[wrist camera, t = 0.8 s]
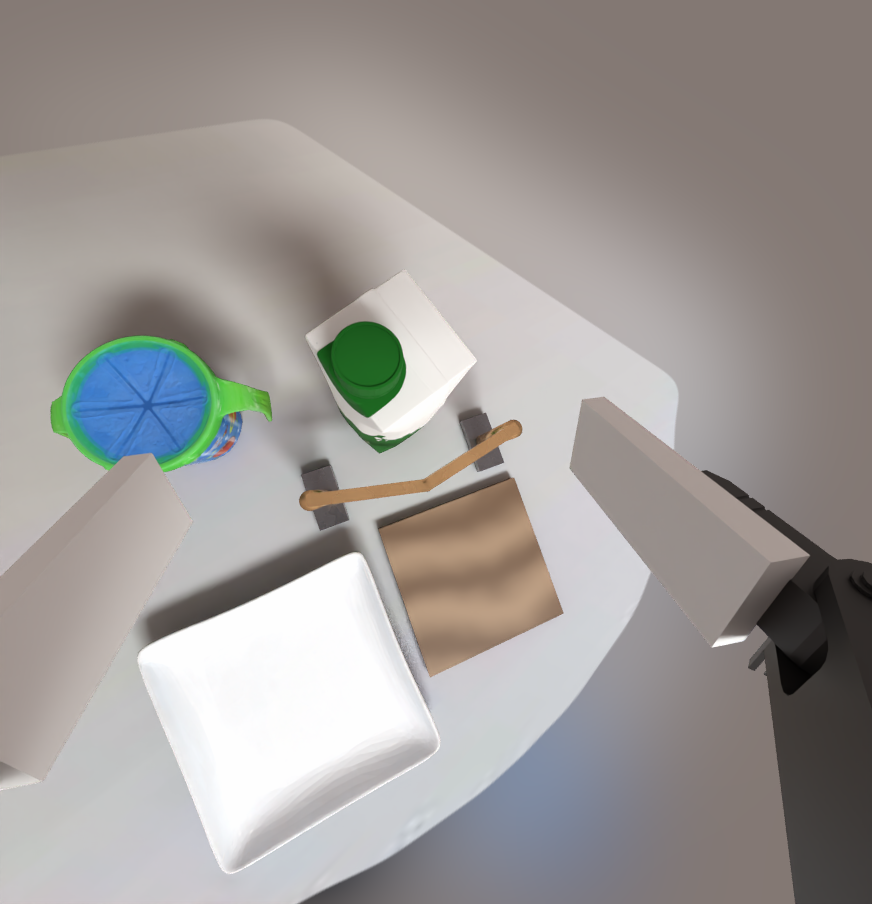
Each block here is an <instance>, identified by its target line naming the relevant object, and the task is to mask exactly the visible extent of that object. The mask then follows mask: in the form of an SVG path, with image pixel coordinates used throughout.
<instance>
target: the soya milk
mask: <svg viewBox="0 0 872 904" xmlns="http://www.w3.org/2000/svg"><path fill="white" fill-rule="evenodd" d="M305 339H306V341H307V343H308V344H309V346H310V348H311V350H312V352H313V354H314V356H315V358H316V360H317V362H318V364H319V366H320V368H321V370H322V372H323V374H324V376H325V378H326V380H327V382H328V384H329V387H330V389H331V391H332V394H333V396H334V398H335V401H336V403H337V405H338V408H339V410H340V412H341V414H342V415H343V417H344V418H345V420H346V421H347V422H348V423H349V425H350V426H351V427H352V428H353V429H354V430H355V431H356V433H357V434H358V435H359V436H360V437H361V438H362V439H363V440H364V441H365V442H366V443H368V444H369V445H370V446H371V447H372V448H374V449H375V450H376V451H377V452H378V453H382V452H384V451H386V450H388V449H391V448H393V447H395V446H397V445H398V444H400V443H401V442H403V441H404V440H406V439H407V438H409V437H410V436H411V435H413V434H414V433H416V432H417V431H418V430H419V429H421V428H422V427H423V426H424V425H425V424H426V423H427V422H428V421H429V420H430V419H431V418H432V416H433V415H434V414H435V413H436V412H437V410H438V409H439V408H440V407H441V406H442V405H443V404H444V403H445V401H446V398H447V397H448V395H449V394H450V393H451V392H452V390H453V389H454V388H455V387H456V385H457V384H458V383H459V382H460V380H461V379H462V378H463V377H464V375H465V374H466V373H467V372H468V370H469V369H470V368H471V367H472V366H473V364H474V363H475V362H476V361H477V359H476V358H475V357H474V356H473V354H472V353H471V352H470V351H469V349H468V348H467V347H466V345H465V344H464V343H463V342H462V340H461V339H460V338H459V337H458V335H457V334H456V333H455V332H454V330H453V329H452V328H451V327H450V325H449V324H448V323H447V321H446V320H445V319H444V318H443V316H442V315H441V314H440V313H439V311H438V310H437V309H436V308H435V306H434V305H433V304H432V303H431V301H430V300H429V299H428V297H427V296H426V295H425V294H424V292H423V291H422V290H421V289H420V287H419V286H418V285H417V284H416V282H415V281H414V280H413V279H412V277H411V276H410V275H409V273H408V272H407V271H406V270H405V269H404V270H402V271H401V272H399V273H398V274H396V275H395V276H393V277H392V278H390V279H389V280H387V281H386V282H384V283H383V284H381V285H380V286H379V287H377V288H376V289H373V288H372V289H370V290H368V291H367V292H365V293H364V294H362V295H361V296H360V297H359V298H358V299H356V300H355V301H354V302H352V303H351V304H349V305H348V306H346V307H345V308H343V309H342V310H340V311H339V312H337V313H336V314H335V315H333V316H332V317H330V318H329V319H327V320H326V321H324V322H323V323H321V324H320V325H319V326H317V327H316V328H314V329H313V330H311V331H310V332H309V333H307V334H306V336H305Z"/></svg>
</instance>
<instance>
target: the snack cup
mask: <svg viewBox="0 0 872 904" xmlns="http://www.w3.org/2000/svg"><path fill="white" fill-rule="evenodd" d="M245 410H252V411H256V412H260V413H264V415H265V416H266V418H267V420H268V421H269V422H270V421H272V412H271V403H270V397H269V394H268V392H265V391H261V390H257V389H254V388H251V387H249V386H246V385H243V384H239V383H235V382H232V381H228V380H224V379H220V378H218V377H216V376H215V374H214V373H213V371H212V370H211V369H210V367H209V366H208V365H207V364H206V363H205V362H204V361H203V360H202V359H201V358H200V357H199V356H197V355H196V354H195V353H194V352H192V351H190V350H189V349H188V347H187V346H186V345H184V344H183V343H180V342H178V341H175V340H172V339H170V340H167V339H164V338H160V337H154V336H130V337H124V338H119V339H116V340H113V341H110V342H108V343H105V344H103V345H101V346H99V347H98V348H96V349H94V350H93V351H91V352H90V353H89V354H87V355H86V356H85V357H84V358H83V359H82V360H81V361H80V362H79V363H78V364H77V365H76V366H75V368H74V369H73V370H72V372H71V373H70V375H69V377H68V378H67V381H66V383H65V386H64V389H63V393H62V396H61V397H59V398H58V399H56V400H55V401H53V402H52V405H51V411H50V412H51V424H52V429H53V432H55V433H58V434H60V435H62V436H65V437H67V438H69V439H70V440H71V441H72V442H73V444H74V445H75V446H76V447H77V449H78V450H79V451H80V452H81V453H82V454H84V455H85V457H87V458H88V459H90V460H91V461H93V462H95V463H97V464H99V465H101V466H103V467H104V468H105V469H106V470H110V469H111V468H112V467H113V466H114V465H115V464H116V463H117V462H118V461H119V460H120V459H122V458H123V457H124V456H131V455H139V454H147V453H152V454H153V455H154V457H155V459H156V460H157V462H158V464H159V465H160V467H161V469H162V470H163V472H168V471H171V470H175V469H177V468H179V467H182V466H186V465H192V464H197V463H203V462H207V461H211V460H215V459H217V458H219V457H221V456H223V455H225V454H226V453H227V452H229V451H230V449H231V448H232V447H233V446H234V445H235V443H236V441H237V440H238V437H239V435H240V432H241V427H242V419H241V414H240V413H239V411H245Z"/></svg>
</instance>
